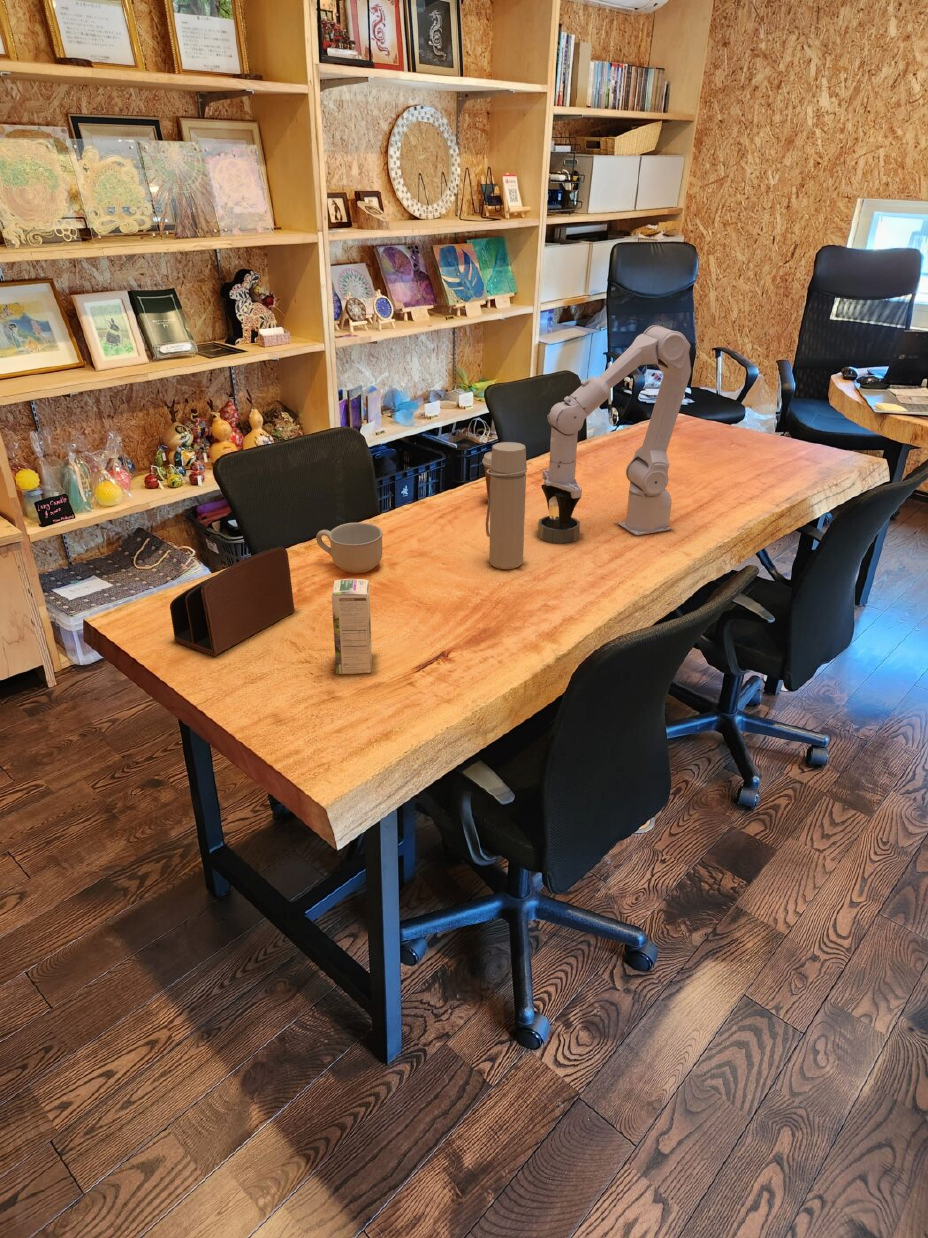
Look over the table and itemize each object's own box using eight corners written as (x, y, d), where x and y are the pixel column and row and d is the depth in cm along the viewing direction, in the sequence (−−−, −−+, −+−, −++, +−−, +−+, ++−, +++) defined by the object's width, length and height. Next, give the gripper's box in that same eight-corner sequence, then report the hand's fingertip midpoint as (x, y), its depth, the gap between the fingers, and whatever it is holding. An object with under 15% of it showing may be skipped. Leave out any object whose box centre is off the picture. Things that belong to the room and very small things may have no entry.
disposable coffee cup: (526, 500, 207) (528, 453, 202) (507, 511, 200) (509, 463, 195) (494, 493, 212) (494, 447, 206) (474, 504, 205) (474, 457, 199)
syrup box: (338, 657, 138) (331, 578, 132) (373, 656, 139) (368, 577, 132) (336, 675, 133) (329, 594, 127) (372, 673, 134) (368, 593, 127)
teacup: (393, 562, 173) (391, 527, 169) (366, 582, 164) (364, 545, 161) (337, 551, 178) (334, 516, 175) (308, 570, 170) (304, 534, 166)
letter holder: (295, 612, 153) (288, 541, 146) (215, 658, 138) (202, 581, 132) (256, 599, 158) (247, 530, 151) (174, 642, 143) (160, 568, 136)
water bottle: (531, 563, 173) (536, 446, 161) (507, 574, 168) (510, 454, 156) (498, 551, 179) (500, 437, 167) (473, 562, 173) (474, 445, 162)
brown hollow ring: (566, 526, 192) (567, 513, 190) (586, 539, 184) (587, 526, 183) (531, 531, 189) (531, 518, 187) (549, 545, 181) (550, 532, 180)
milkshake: (569, 540, 184) (572, 498, 179) (545, 538, 185) (548, 496, 180) (571, 532, 188) (574, 491, 183) (547, 530, 189) (550, 489, 184)
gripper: (531, 452, 183) (529, 510, 189) (562, 471, 171) (558, 532, 177) (559, 449, 185) (556, 506, 192) (592, 467, 174) (587, 528, 180)
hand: (559, 518), depth 185 cm, fingers closed on milkshake, 4 cm apart
